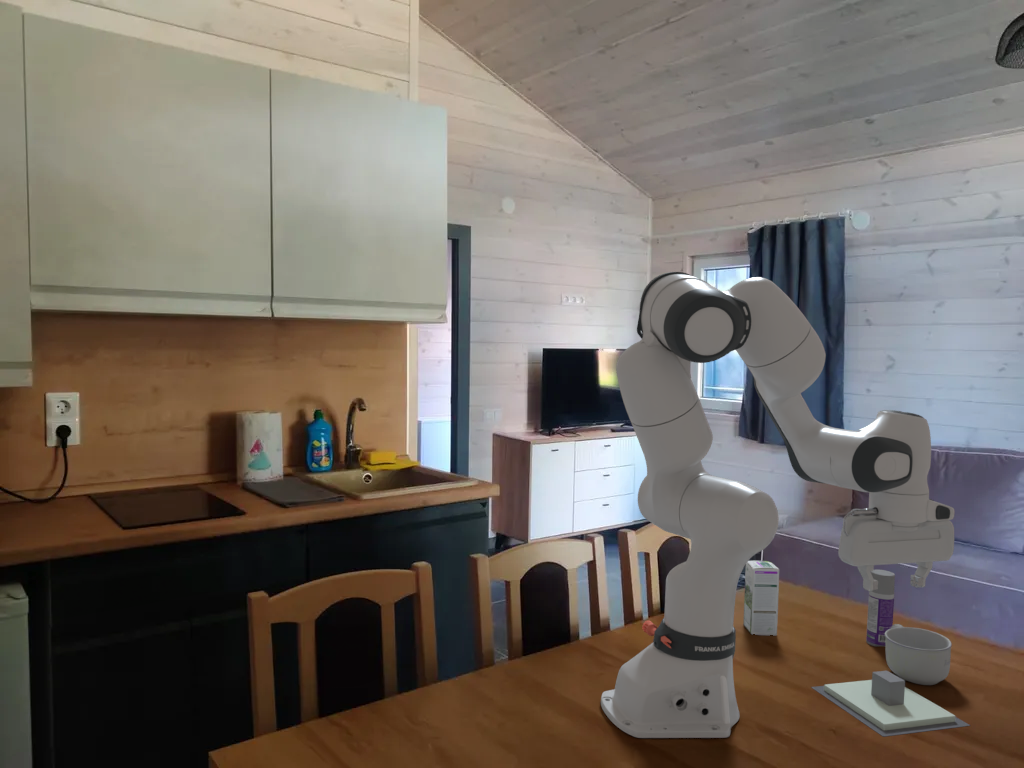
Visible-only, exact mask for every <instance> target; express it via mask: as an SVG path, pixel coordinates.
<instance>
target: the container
mask: <svg viewBox="0 0 1024 768" xmlns="http://www.w3.org/2000/svg"><path fill="white" fill-rule="evenodd" d="M870 572H871V574H872V577H873V579H874V580H877V581H878V586H877V587H878V590H877V591H868V604H867V605H868V606H867V624H866V637H865V638H866V639H865V641H866V644H868V645H870V646H872V647H886V645H885V643H886V638H885V632H886V631H887V630H888V629H891V627H892V625H894V624H893V623H894V610H895V609H894V607H895V586H896V585H895V582H896V574H895V573H894V572H892V571H888V570H885V569H874V571H870Z"/></svg>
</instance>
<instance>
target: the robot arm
mask: <svg viewBox="0 0 1024 768" xmlns="http://www.w3.org/2000/svg"><path fill="white" fill-rule="evenodd" d="M640 297H641V298H640V302H639V310H638V311H639V313H638V320H637V325H636V333H637V335H638V336H639V337H640V338H641V339H640V340H639V341H637V342H635V343H633V344H631V345H630V346H628V347H627V348H626V349H624V351H622V352H621V354H620V356H619V357H618V358H617V362H616V367H615V371H616V376H617V382H618V386H619V391H620V395H621V399H622V401H623V405H624V408H625V411H626V413H627V416H628V418H629V421H630V423H631V426H632V428H633V430H634V433H635V436H636V438H637V441H638V442H639V443H638V444H639V446H640V448H641V450H642V453H643V456H644V460H645V464H646V476H645V477H644V478H643V480H642V482H641V483H640V485H639V488H638V493H637V506H638V509H639V512H640V514H641V515H642V517H643V518H644V519H645V520H647V521H648V522H650V523H652V524H653V525H654V526H655V527H658V528H659V529H661V530H662V531H664V532H667V533H669V534H673V535H677V536H680V537H682V538H685V539H689V540H690V543H691V544H690V551H689V554H688V556H687V559H686V561H683V562H681V563H679V564H677V565H676V566H674V567H673V568H671V570H669V572H668V573H667V576H666V579H665V590H664V591H665V595H664V616H663V618H662V620H661V621H660V624H659V625H658V626H657V625H656V624H655V623H653V621H651V620H645V621H644V622H643V623H642V626H641V627H642V631H643V632H644V633H646V634H647V635H648V636H650V637H653V639H652V642H651V643H650V644H649V645H647V647H645V648H644V649H642V650H641V651H640V652H638V653H637V654H636V655H635V656H633V657H632V658H630V659H629V660H628V661H627V662H624V663H623V664H622V665H621V667H620V668H619V670H618V673H617V677H616V681H615V686H614V689H609V690H605V691H603V692H602V694H601V697H600V706H601V709H602V711H603V713H604V714H605V715H606V716H607V718H608V719H609V721H610V722H612V724H614V725H615V726H616V728H619V730H621V731H622V732H624V733H626V734H627V735H630V736H632V737H634V738H638V739H669V738H670V739H679V738H680V739H681V738H683V739H686V738H687V739H689V738H690V739H694V738H695V739H696V738H697V739H698V738H699V739H700V738H701V739H711V738H712V739H714V738H716V739H717V738H719V739H721V738H722V739H723V738H729V737H730V735H731V733H732V730H731V729H732V727H733V726H734V725H735V724H736V723H737V722H738V721H739V720H740V717H741V716H740V711H739V707H738V706H739V705H738V703H737V702H738V701H737V698H736V697H737V696H736V691H735V690H736V689H735V682H734V663H733V659H734V657H735V652H736V636H737V635H736V633H737V632H736V628H735V627H734V617H735V607H736V605H735V604H736V595H737V587H738V582H739V579H740V578H741V577H740V576H741V574H742V572H743V570H744V568H745V567H746V563H747V562H748V561H750V559H751V558H753V557H754V556H755V555H756V554H759V553H761V552H762V551H764V550H765V549H766V548H767V547H768V546H769V545H770V544H771V542H772V541H773V540H774V538H775V537H776V534H777V531H778V529H779V512H778V507H777V504H776V503H775V501H774V499H773V497H771V496H770V494H768V493H766V492H765V491H763V490H761V489H759V488H756V487H754V486H752V485H750V484H748V483H746V482H743V481H739V480H735V479H730V478H724V477H720V476H715V475H712V474H709V472H708V471H706V469H705V468H704V465H703V464H702V460H703V459H704V458H705V457H706V456H707V454H708V453H709V451H710V449H711V446H712V444H713V438H714V436H713V432H712V430H711V427H710V423H709V422H708V418H707V416H706V413H705V410H704V408H703V406H702V403H701V400H700V397H699V395H698V392H697V390H696V388H695V385H694V383H693V381H692V377H691V370H690V368H691V363H697V364H702V363H703V364H704V363H706V364H707V363H711V362H715V361H718V360H720V359H721V358H723V357H725V356H727V355H728V354H730V353H731V352H733V351H736V353H737V354H738V355H739V357H740V358H741V360H742V361H743V363H744V364H745V366H746V367H747V368H748V370H749V371H750V373H751V375H752V377H753V384H754V385H753V386H754V388H755V391H756V394H757V396H758V397H759V400H760V402H761V403H762V405H763V407H764V409H765V410H766V412H767V414H768V416H769V418H770V419H771V421H772V422H773V424H774V426H775V428H776V429H777V431H778V433H779V435H780V437H781V438H782V440H783V443H784V445H785V448H786V452H787V456H788V458H789V462H790V466H791V467H792V470H794V473H795V474H796V475H797V476H798V477H799V478H801V479H802V480H804V481H806V482H810V483H818V484H826V485H827V484H828V485H831V486H836V487H839V488H843V489H848V490H854V491H859V492H861V493H862V492H863V493H869V494H868V495H869V496H868V507H866V508H853V509H852V508H851V510H850V511H848V512H847V514H845V515H844V516H843V519H842V528H841V530H840V531H841V532H840V537H839V543H838V550H837V551H838V552H837V553H838V557H839V559H840V560H841V561H842V562H843V563H844V564H847V565H850V566H852V567H857V570H858V572H859V574H860V576H861V577H862V580H863V581H862V587H863V589H864V590H865V591H867V592H869V591H877V590H878V587H877V586H878V581H877V580H874V579H873V577H872V574H871V571H874V570H875V566H883V565H884V566H885V565H898V564H899V565H900V564H915V565H917V568H916V570H915V572H914V574H910V577H909V578H910V581H909V583H910V586H912V587H913V588H916V589H917V588H925V587H926V579H927V578H928V576H929V574H930V572H931V570H932V569H933V564H934V563H933V562H946V561H949V560H950V559H951V558H952V556H953V554H954V550H955V527H954V524H953V522H952V520H953V519H954V518H955V509H954V507H953V506H949V505H947V504H944V503H941V502H937V501H934V499H932V498H930V488H929V483H928V475H929V471H930V469H931V462H932V461H931V459H932V440H931V439H932V436H931V430H930V425H929V423H928V420H927V419H926V418H925V417H923V416H922V415H920V414H917V413H914V412H913V413H912V412H908V411H901V410H896V409H895V410H893V409H884V410H879V411H878V412H877V414H876V417H875V419H874V420H873V421H871V422H870V423H869V424H867V425H866V426H863V427H862V428H859V429H857V430H851V429H844V428H838V427H833V426H830V425H826V424H824V423H822V422H820V421H818V420H817V419H816V418H815V416H813V413H812V412H811V410H810V408H809V406H808V404H807V402H806V400H805V398H803V396H802V393H803V392H805V391H806V390H807V389H808V388H810V387H811V386H812V385H813V384H814V383H815V381H817V379H818V378H819V376H821V373H822V372H823V369H824V366H825V363H826V356H827V355H826V351H825V347H824V344H823V341H822V340H821V338H820V336H819V335H818V333H817V332H816V330H815V329H814V327H813V326H812V325H811V323H810V321H809V320H808V319H807V318H806V316H805V314H803V312H802V311H801V309H799V307H798V306H797V305H796V304H795V302H794V301H793V300H792V299H791V298H790V297H789V296H788V294H786V293H785V292H784V291H783V290H782V289H781V288H780V287H779V286H778V285H777V284H776V283H774V282H773V281H772V280H770V279H768V278H765V277H762V276H756V277H750V278H745V279H743V280H741V281H739V282H736V284H733V285H732V286H731V287H730V288H729V289H727V290H723V291H722V290H720V289H719V288H717V287H715V286H712V285H711V284H710V283H709V282H707V281H705V280H704V279H701V278H698V277H696V276H693V275H691V274H689V273H687V272H684V271H683V272H682V271H669V272H665V273H662V274H660V275H658V276H656V277H654V278H653V279H651V280H650V281H649V282H648V283H647V285H646V286H645V287H644V289H643V291H642V294H641V296H640Z"/></svg>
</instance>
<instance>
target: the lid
mask: <svg viewBox="0 0 1024 768" xmlns="http://www.w3.org/2000/svg"><path fill="white" fill-rule="evenodd" d="M871 676H872V677H871V679H867V680H865V679H864V680H857V681H847V682H839V683H838V682H836V683H827V684H826V683H825V684H824V685H823V686H824V691H826V692H827V693H829V694H830V695H832V696H833V697H835V698H836V699H838V700H839V701H841V702H842V703H844V704H845V705H847V706H848V707H850V708H851V709H853V710H854V711H856V712H857V713H859V714H860V715H862V716H863V717H864V718H866V719H867V720H869V721H870V722H872V723H873V724H875V725H876V726H878V727H879V728H881V729H882V730H884V731H885V730H893V729H901V728H909V727H917V726H925V725H933V724H941V723H949V722H955V717H956V715H955V714H954V713H952V712H950V711H948V710H946V709H944V708H943V707H941V706H940V705H938V704H936V703H935V702H932V701H931V700H929V699H927V698H925V697H924V696H922V695H920V694H918V693H917V692H915V691H913V690H912V689H909V688H908V687H906V680H904V679H902V678H900V677H899V676H897V675H896V674H895V673H892V672H890V671H889V670H881V671H872V674H871Z"/></svg>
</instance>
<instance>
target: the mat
mask: <svg viewBox="0 0 1024 768" xmlns="http://www.w3.org/2000/svg"><path fill="white" fill-rule="evenodd" d="M811 689H813V691H816V692H817V693H819V694H820V695H821V696H823V697H825V698H826V699H827V700H828V701H830V702H832V703H833V704H834V705H836V706H837V707H839V708H840V709H842V710H843V711H845V713H846V712H847V714H849V715H851V716H852V717H853V718H855V719H856V720H858V721H859V722H861V723H863V724H864V725H865V726H867V727H868V728H869V729H871V730H872V731H874V732H875V733H877V734H879V735H880V736H881V737H892V736H900V735H907V734H915V733H922V732H923V733H925V732H931V731H939V730H940V731H941V730H946V729H947V730H948V729H955V728H963V727H971V725H970V724H968V723H967V722H965V721H964V720H962V719H960V718H959V717H957V716H955V722H949V723H941V724H933V725H925V726H917V727H909V728H901V729H893V730H885V731H884V730H882V729H881V728H879V727H878V726H876V725H875V724H873V723H872V722H870V721H869V720H867V719H866V718H864V717H863V716H862V715H860V714H859V713H857V712H856V711H854V710H853V709H851V708H850V707H848V706H847V705H845V704H844V703H842V702H841V701H839V700H838V699H836V698H835V697H833V696H832V695H830V694H829V693H827V692H826V691H824V685H820V686H811Z"/></svg>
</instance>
